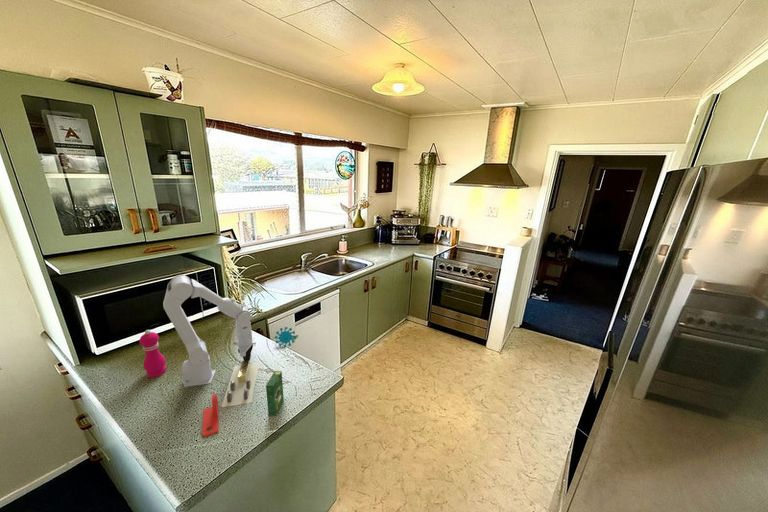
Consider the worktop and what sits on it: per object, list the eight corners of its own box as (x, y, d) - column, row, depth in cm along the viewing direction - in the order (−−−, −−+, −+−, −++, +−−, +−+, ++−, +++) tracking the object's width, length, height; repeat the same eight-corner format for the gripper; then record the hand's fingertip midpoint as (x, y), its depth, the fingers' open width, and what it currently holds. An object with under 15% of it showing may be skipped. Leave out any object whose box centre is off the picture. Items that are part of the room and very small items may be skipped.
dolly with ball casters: (227, 402, 106) (226, 394, 105) (232, 386, 114) (231, 379, 113) (247, 399, 108) (246, 391, 107) (250, 384, 115) (250, 377, 114)
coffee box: (276, 398, 109) (274, 369, 106) (284, 399, 109) (282, 370, 106) (267, 416, 102) (264, 385, 98) (275, 416, 102) (273, 386, 98)
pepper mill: (171, 370, 122) (162, 328, 116) (152, 380, 116) (141, 337, 110) (161, 364, 125) (152, 323, 119) (141, 374, 118) (131, 332, 112)
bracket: (204, 411, 103) (200, 393, 100) (218, 407, 105) (215, 389, 102) (202, 439, 93) (198, 419, 90) (218, 433, 95) (215, 414, 92)
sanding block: (238, 383, 116) (237, 376, 115) (243, 367, 125) (242, 360, 124) (246, 382, 116) (245, 375, 115) (250, 366, 125) (249, 359, 125)
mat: (221, 408, 104) (221, 407, 104) (234, 366, 125) (234, 366, 125) (251, 403, 107) (251, 402, 107) (259, 363, 128) (259, 362, 128)
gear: (273, 347, 137) (275, 326, 142) (273, 349, 142) (275, 329, 146) (297, 346, 141) (298, 326, 145) (296, 349, 145) (298, 329, 150)
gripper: (251, 342, 118) (254, 370, 122) (256, 324, 131) (259, 349, 135) (232, 344, 116) (236, 372, 120) (239, 325, 129) (242, 351, 133)
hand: (247, 360), depth 127 cm, fingers closed
